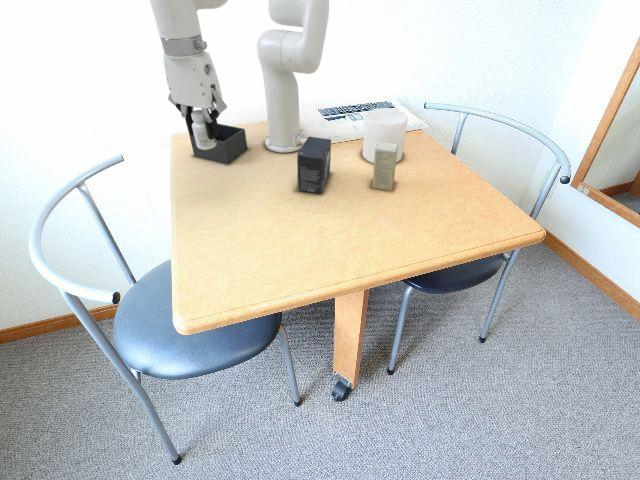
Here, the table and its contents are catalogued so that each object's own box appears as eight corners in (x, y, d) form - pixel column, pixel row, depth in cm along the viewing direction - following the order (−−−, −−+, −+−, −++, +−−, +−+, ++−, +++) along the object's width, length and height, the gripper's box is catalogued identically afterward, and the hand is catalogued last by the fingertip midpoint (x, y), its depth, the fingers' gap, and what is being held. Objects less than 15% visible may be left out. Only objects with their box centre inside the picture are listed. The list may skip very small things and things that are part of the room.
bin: (247, 149, 113) (244, 128, 108) (228, 164, 106) (224, 142, 101) (215, 142, 117) (211, 122, 112) (194, 156, 110) (189, 135, 105)
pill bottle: (220, 145, 84) (213, 112, 79) (204, 152, 81) (196, 118, 76) (209, 139, 86) (201, 106, 81) (193, 146, 84) (184, 113, 79)
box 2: (394, 182, 98) (399, 144, 90) (390, 191, 95) (396, 151, 87) (374, 179, 99) (378, 141, 92) (371, 187, 96) (374, 148, 89)
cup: (354, 153, 110) (356, 114, 102) (381, 142, 116) (385, 104, 108) (382, 168, 103) (387, 128, 95) (410, 156, 109) (417, 117, 101)
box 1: (321, 194, 93) (321, 157, 87) (297, 191, 95) (295, 154, 88) (331, 173, 101) (331, 138, 95) (308, 171, 103) (307, 135, 96)
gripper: (231, 44, 70) (245, 134, 82) (162, 37, 75) (185, 122, 87) (207, 55, 65) (226, 149, 77) (135, 46, 70) (163, 135, 82)
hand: (204, 134), depth 82 cm, fingers closed on pill bottle, 4 cm apart
